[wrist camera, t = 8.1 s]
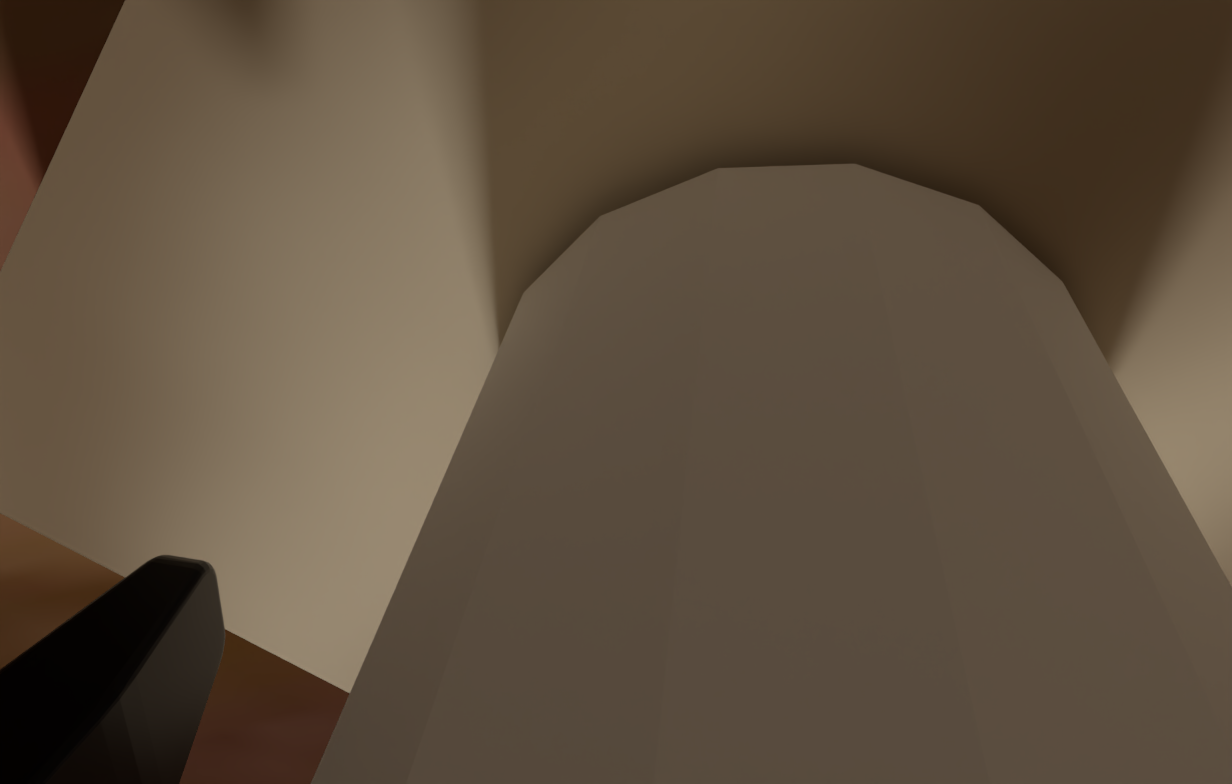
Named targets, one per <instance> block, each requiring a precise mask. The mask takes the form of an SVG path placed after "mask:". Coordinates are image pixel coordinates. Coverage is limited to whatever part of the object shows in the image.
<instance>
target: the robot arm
mask: <svg viewBox="0 0 1232 784" xmlns="http://www.w3.org/2000/svg"><path fill="white" fill-rule="evenodd" d="M224 642H225V627H224V620H223V614H222V607H221V601H220V595H219V588H218V582H217V576H216V572H215V569H214V568H213V566H212V565H211V564H210V563H209V562H206V561H204V560H197V559H191V558H185V557H179V556H173V555H160V556H157V557H154V558H152V559H150V560H149V561H147V562H146V563H144V564H143V565H142V566H140V567H139V568H137V569H136V570H135V571H133V572H132V573H131V574H129V575H128V576H127V577H125V578H124V579H123V580H121V581H120V582H118V583H117V584H116V585H114V586H113V587H112V588H110V589H109V590H108V591H106V592H105V593H103V594H102V595H101V596H99V597H98V598H97V599H95V600H94V601H93V602H91V603H90V604H89V605H87V606H86V607H84V608H83V609H82V610H80V611H79V612H78V613H76V614H75V615H74V616H72V617H71V618H70V619H68V620H67V621H65V622H64V623H63V624H61V625H60V626H59V627H57V628H56V629H55V630H53V631H52V632H51V633H49V634H48V635H46V636H45V637H44V638H42V639H41V640H40V641H38V642H37V643H36V644H34V645H33V646H32V647H30V648H29V649H27V650H26V651H25V652H23V653H22V654H21V655H19V656H18V657H17V658H15V659H14V660H13V661H11V662H10V663H8V664H7V665H6V666H4V667H3V668H2V669H0V784H179V782H180V779H181V776H182V773H183V771H184V768H185V765H186V762H187V759H188V756H189V753H190V750H191V747H192V744H193V741H194V738H195V735H196V732H197V729H198V726H199V723H200V720H201V717H202V715H203V712H204V709H205V706H206V703H207V700H208V697H209V694H210V691H211V688H212V685H213V682H214V679H215V676H216V673H217V670H218V667H219V664H220V661H221V658H222V654H223V649H224Z"/></svg>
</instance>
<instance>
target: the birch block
mask: <svg viewBox="0 0 1232 784" xmlns="http://www.w3.org/2000/svg"><path fill="white" fill-rule="evenodd" d="M827 164H858V165H861V166H864V167H867V168H870V169H873V170H876V171H878V172H881V173H884V174H887V175H890V176H893V177H896V178H899V179H902V180H905V181H908V182H911V183H914V184H917V185H920V186H923V187H926V188H929V189H932V190H935V191H938V192H941V193H944V194H947V195H950V196H953V197H956V198H959V199H962V200H965V201H968V202H971V203H974V204H977V205H979V206H980V207H982V208H983V209H984V210H985V211H986V212H987V213H988V214H989V215H990V216H991V217H992V218H994V219H995V220H996V221H997V222H998V223H999V224H1000V225H1001V226H1002V227H1003V228H1004V229H1006V230H1007V231H1008V232H1009V233H1010V234H1011V235H1012V236H1013V237H1014V238H1015V239H1016V240H1018V241H1019V242H1020V243H1021V244H1022V245H1023V246H1024V247H1025V248H1026V249H1027V250H1028V251H1030V252H1031V253H1032V254H1033V255H1034V256H1035V257H1036V258H1037V259H1038V260H1039V261H1041V262H1042V263H1043V264H1044V265H1045V266H1046V267H1047V268H1048V269H1049V270H1050V271H1051V272H1053V273H1054V274H1055V275H1056V276H1057V277H1058V278H1059V279H1060V280H1061V281H1062V282H1063V283H1064V285H1065V287H1066V289H1067V291H1068V292H1069V294H1070V296H1071V298H1072V300H1073V301H1074V303H1075V305H1076V307H1077V309H1078V310H1079V312H1080V314H1081V316H1082V318H1083V319H1084V321H1085V323H1086V325H1087V327H1088V329H1089V330H1090V332H1091V334H1092V336H1093V338H1094V339H1095V341H1096V343H1097V345H1098V347H1099V348H1100V350H1101V352H1102V354H1103V356H1104V357H1105V359H1106V361H1107V363H1108V365H1109V366H1110V368H1111V370H1112V372H1113V374H1114V375H1115V377H1116V379H1117V381H1118V383H1119V384H1120V386H1121V388H1122V390H1123V392H1124V393H1125V395H1126V397H1127V399H1128V401H1129V403H1130V404H1131V406H1132V408H1133V410H1134V412H1135V413H1136V415H1137V417H1138V419H1139V421H1140V422H1141V424H1142V426H1143V428H1144V430H1145V431H1146V433H1147V435H1148V437H1149V439H1150V440H1151V442H1152V444H1153V446H1154V448H1155V449H1156V451H1157V453H1158V455H1159V457H1160V458H1161V460H1162V462H1163V464H1164V466H1165V468H1166V469H1167V471H1168V473H1169V475H1170V477H1171V478H1172V480H1173V482H1174V484H1175V486H1176V487H1177V489H1178V491H1179V493H1180V495H1181V496H1182V498H1183V500H1184V502H1185V504H1186V505H1187V507H1188V509H1189V511H1190V513H1191V514H1192V516H1193V518H1194V520H1195V522H1196V523H1197V525H1198V527H1199V529H1200V531H1201V532H1202V534H1203V536H1204V538H1205V540H1206V542H1207V543H1208V545H1209V547H1210V549H1211V551H1212V552H1213V554H1214V556H1215V558H1216V560H1217V561H1218V563H1219V565H1220V567H1221V569H1222V570H1223V572H1224V574H1225V576H1226V578H1227V579H1228V581H1229V583H1230V585H1231V587H1232V0H125V1H124V4H123V6H122V8H121V10H120V12H119V14H118V17H117V19H116V21H115V23H114V25H113V28H112V30H111V32H110V34H109V36H108V38H107V41H106V43H105V45H104V47H103V49H102V51H101V54H100V56H99V58H98V60H97V62H96V65H95V67H94V69H93V71H92V73H91V75H90V78H89V80H88V82H87V84H86V86H85V89H84V91H83V93H82V95H81V97H80V99H79V102H78V104H77V106H76V108H75V110H74V112H73V115H72V117H71V119H70V121H69V123H68V126H67V128H66V130H65V132H64V134H63V136H62V139H61V141H60V143H59V145H58V147H57V150H56V152H55V154H54V156H53V158H52V160H51V163H50V165H49V167H48V169H47V171H46V173H45V176H44V178H43V180H42V182H41V184H40V187H39V189H38V191H37V193H36V195H35V197H34V200H33V202H32V204H31V206H30V208H29V211H28V213H27V215H26V217H25V219H24V221H23V224H22V226H21V228H20V230H19V232H18V234H17V237H16V239H15V241H14V243H13V245H12V248H11V250H10V252H9V254H8V256H7V258H6V261H5V263H4V265H3V267H2V269H1V271H0V513H1V514H3V515H5V516H7V517H9V518H11V519H13V520H15V521H17V522H19V523H21V524H22V525H24V526H26V527H28V528H30V529H32V530H34V531H36V532H38V533H40V534H42V535H44V536H46V537H48V538H50V539H52V540H54V541H55V542H57V543H59V544H61V545H63V546H65V547H67V548H69V549H71V550H73V551H75V552H77V553H79V554H81V555H83V556H85V557H87V558H88V559H90V560H92V561H94V562H96V563H98V564H100V565H102V566H104V567H106V568H108V569H110V570H112V571H114V572H116V573H118V574H120V575H121V576H123V577H127V576H128V575H129V574H131V573H132V572H133V571H135V570H136V569H137V568H139V567H140V566H142V565H143V564H144V563H146V562H147V561H149V560H150V559H152V558H154V557H157V556H160V555H173V556H179V557H185V558H191V559H197V560H204V561H206V562H209V563H210V564H211V565H212V566H213V568H214V569H215V572H216V576H217V582H218V588H219V595H220V601H221V607H222V614H223V620H224V627H225V629H226V630H228V631H230V632H232V633H234V634H236V635H238V636H240V637H242V638H244V639H246V640H248V641H249V642H251V643H253V644H255V645H257V646H259V647H261V648H263V649H265V650H267V651H269V652H271V653H273V654H275V655H277V656H279V657H281V658H282V659H284V660H286V661H288V662H290V663H292V664H294V665H296V666H298V667H300V668H302V669H304V670H306V671H308V672H310V673H312V674H314V675H315V676H317V677H319V678H321V679H323V680H325V681H327V682H329V683H331V684H333V685H335V686H337V687H339V688H341V689H343V690H345V691H347V692H348V693H350V692H351V690H352V687H353V685H354V683H355V680H356V678H357V676H358V674H359V671H360V669H361V667H362V664H363V662H364V660H365V657H366V655H367V653H368V650H369V648H370V646H371V644H372V641H373V639H374V637H375V634H376V632H377V630H378V627H379V625H380V623H381V620H382V618H383V616H384V613H385V611H386V609H387V607H388V604H389V602H390V600H391V597H392V595H393V593H394V590H395V588H396V586H397V583H398V581H399V579H400V577H401V574H402V572H403V570H404V567H405V565H406V563H407V560H408V558H409V556H410V553H411V551H412V549H413V546H414V544H415V542H416V540H417V537H418V535H419V533H420V530H421V528H422V526H423V523H424V521H425V519H426V516H427V514H428V512H429V510H430V507H431V505H432V503H433V500H434V498H435V496H436V493H437V491H438V489H439V486H440V484H441V482H442V479H443V477H444V475H445V473H446V470H447V468H448V466H449V463H450V461H451V459H452V456H453V454H454V452H455V449H456V447H457V445H458V443H459V440H460V438H461V436H462V433H463V431H464V429H465V426H466V424H467V422H468V419H469V417H470V415H471V413H472V410H473V408H474V406H475V403H476V401H477V399H478V396H479V394H480V392H481V389H482V387H483V385H484V382H485V380H486V378H487V376H488V373H489V371H490V369H491V366H492V364H493V362H494V359H495V357H496V355H497V352H498V350H499V348H500V346H501V343H502V341H503V339H504V336H505V334H506V332H507V329H508V327H509V325H510V322H511V320H512V318H513V315H514V313H515V311H516V309H517V306H518V304H519V302H520V299H521V297H522V295H523V293H524V292H525V291H526V290H527V289H528V288H529V287H530V286H531V285H532V284H533V283H534V282H535V281H536V280H537V279H538V278H539V277H540V276H541V275H542V274H543V273H544V272H545V271H546V270H547V269H548V268H549V267H550V266H551V265H552V264H553V263H554V262H555V261H556V260H557V259H558V258H559V257H560V256H561V255H562V254H563V253H564V252H565V251H566V250H567V249H568V248H569V247H570V246H571V245H572V244H573V243H574V242H575V241H576V240H577V239H578V238H579V237H580V236H581V235H582V234H583V233H584V232H585V231H586V230H587V229H588V228H589V227H590V226H591V225H592V224H593V223H594V222H595V221H596V220H597V219H598V218H599V217H600V216H602V215H604V214H607V213H609V212H611V211H614V210H616V209H619V208H621V207H624V206H626V205H629V204H631V203H634V202H636V201H638V200H641V199H643V198H646V197H648V196H651V195H653V194H656V193H658V192H661V191H663V190H666V189H668V188H670V187H673V186H675V185H678V184H680V183H683V182H685V181H688V180H690V179H693V178H695V177H698V176H700V175H702V174H705V173H707V172H710V171H712V170H715V169H717V168H739V167H768V166H798V165H827Z"/></svg>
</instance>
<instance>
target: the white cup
mask: <svg viewBox="0 0 1232 784" xmlns="http://www.w3.org/2000/svg"><path fill="white" fill-rule="evenodd" d="M311 784H1232V587H1231V585H1230V583H1229V581H1228V579H1227V578H1226V576H1225V574H1224V572H1223V570H1222V569H1221V567H1220V565H1219V563H1218V561H1217V560H1216V558H1215V556H1214V554H1213V552H1212V551H1211V549H1210V547H1209V545H1208V543H1207V542H1206V540H1205V538H1204V536H1203V534H1202V532H1201V531H1200V529H1199V527H1198V525H1197V523H1196V522H1195V520H1194V518H1193V516H1192V514H1191V513H1190V511H1189V509H1188V507H1187V505H1186V504H1185V502H1184V500H1183V498H1182V496H1181V495H1180V493H1179V491H1178V489H1177V487H1176V486H1175V484H1174V482H1173V480H1172V478H1171V477H1170V475H1169V473H1168V471H1167V469H1166V468H1165V466H1164V464H1163V462H1162V460H1161V458H1160V457H1159V455H1158V453H1157V451H1156V449H1155V448H1154V446H1153V444H1152V442H1151V440H1150V439H1149V437H1148V435H1147V433H1146V431H1145V430H1144V428H1143V426H1142V424H1141V422H1140V421H1139V419H1138V417H1137V415H1136V413H1135V412H1134V410H1133V408H1132V406H1131V404H1130V403H1129V401H1128V399H1127V397H1126V395H1125V393H1124V392H1123V390H1122V388H1121V386H1120V384H1119V383H1118V381H1117V379H1116V377H1115V375H1114V374H1113V372H1112V370H1111V368H1110V366H1109V365H1108V363H1107V361H1106V359H1105V357H1104V356H1103V354H1102V352H1101V350H1100V348H1099V347H1098V345H1097V343H1096V341H1095V339H1094V338H1093V336H1092V334H1091V332H1090V330H1089V329H1088V327H1087V325H1086V323H1085V321H1084V319H1083V318H1082V316H1081V314H1080V312H1079V310H1078V309H1077V307H1076V305H1075V303H1074V301H1073V300H1072V298H1071V296H1070V294H1069V292H1068V291H1067V289H1066V287H1065V285H1064V283H1063V282H1062V281H1061V280H1060V279H1059V278H1058V277H1057V276H1056V275H1055V274H1054V273H1053V272H1051V271H1050V270H1049V269H1048V268H1047V267H1046V266H1045V265H1044V264H1043V263H1042V262H1041V261H1039V260H1038V259H1037V258H1036V257H1035V256H1034V255H1033V254H1032V253H1031V252H1030V251H1028V250H1027V249H1026V248H1025V247H1024V246H1023V245H1022V244H1021V243H1020V242H1019V241H1018V240H1016V239H1015V238H1014V237H1013V236H1012V235H1011V234H1010V233H1009V232H1008V231H1007V230H1006V229H1004V228H1003V227H1002V226H1001V225H1000V224H999V223H998V222H997V221H996V220H995V219H994V218H992V217H991V216H990V215H989V214H988V213H987V212H986V211H985V210H984V209H983V208H982V207H980V206H979V205H977V204H974V203H971V202H968V201H965V200H962V199H959V198H956V197H953V196H950V195H947V194H944V193H941V192H938V191H935V190H932V189H929V188H926V187H923V186H920V185H917V184H914V183H911V182H908V181H905V180H902V179H899V178H896V177H893V176H890V175H887V174H884V173H881V172H878V171H876V170H873V169H870V168H867V167H864V166H861V165H858V164H827V165H798V166H768V167H739V168H717V169H715V170H712V171H710V172H707V173H705V174H702V175H700V176H698V177H695V178H693V179H690V180H688V181H685V182H683V183H680V184H678V185H675V186H673V187H670V188H668V189H666V190H663V191H661V192H658V193H656V194H653V195H651V196H648V197H646V198H643V199H641V200H638V201H636V202H634V203H631V204H629V205H626V206H624V207H621V208H619V209H616V210H614V211H611V212H609V213H607V214H604V215H602V216H600V217H599V218H598V219H597V220H596V221H595V222H594V223H593V224H592V225H591V226H590V227H589V228H588V229H587V230H586V231H585V232H584V233H583V234H582V235H581V236H580V237H579V238H578V239H577V240H576V241H575V242H574V243H573V244H572V245H571V246H570V247H569V248H568V249H567V250H566V251H565V252H564V253H563V254H562V255H561V256H560V257H559V258H558V259H557V260H556V261H555V262H554V263H553V264H552V265H551V266H550V267H549V268H548V269H547V270H546V271H545V272H544V273H543V274H542V275H541V276H540V277H539V278H538V279H537V280H536V281H535V282H534V283H533V284H532V285H531V286H530V287H529V288H528V289H527V290H526V291H525V292H524V293H523V295H522V297H521V299H520V302H519V304H518V306H517V309H516V311H515V313H514V315H513V318H512V320H511V322H510V325H509V327H508V329H507V332H506V334H505V336H504V339H503V341H502V343H501V346H500V348H499V350H498V352H497V355H496V357H495V359H494V362H493V364H492V366H491V369H490V371H489V373H488V376H487V378H486V380H485V382H484V385H483V387H482V389H481V392H480V394H479V396H478V399H477V401H476V403H475V406H474V408H473V410H472V413H471V415H470V417H469V419H468V422H467V424H466V426H465V429H464V431H463V433H462V436H461V438H460V440H459V443H458V445H457V447H456V449H455V452H454V454H453V456H452V459H451V461H450V463H449V466H448V468H447V470H446V473H445V475H444V477H443V479H442V482H441V484H440V486H439V489H438V491H437V493H436V496H435V498H434V500H433V503H432V505H431V507H430V510H429V512H428V514H427V516H426V519H425V521H424V523H423V526H422V528H421V530H420V533H419V535H418V537H417V540H416V542H415V544H414V546H413V549H412V551H411V553H410V556H409V558H408V560H407V563H406V565H405V567H404V570H403V572H402V574H401V577H400V579H399V581H398V583H397V586H396V588H395V590H394V593H393V595H392V597H391V600H390V602H389V604H388V607H387V609H386V611H385V613H384V616H383V618H382V620H381V623H380V625H379V627H378V630H377V632H376V634H375V637H374V639H373V641H372V644H371V646H370V648H369V650H368V653H367V655H366V657H365V660H364V662H363V664H362V667H361V669H360V671H359V674H358V676H357V678H356V680H355V683H354V685H353V687H352V690H351V692H350V694H349V697H348V699H347V701H346V704H345V706H344V708H343V711H342V713H341V715H340V717H339V720H338V722H337V724H336V727H335V729H334V731H333V734H332V736H331V738H330V741H329V743H328V745H327V747H326V750H325V752H324V754H323V757H322V759H321V761H320V764H319V766H318V768H317V771H316V773H315V775H314V778H313V780H312V782H311Z"/></svg>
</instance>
